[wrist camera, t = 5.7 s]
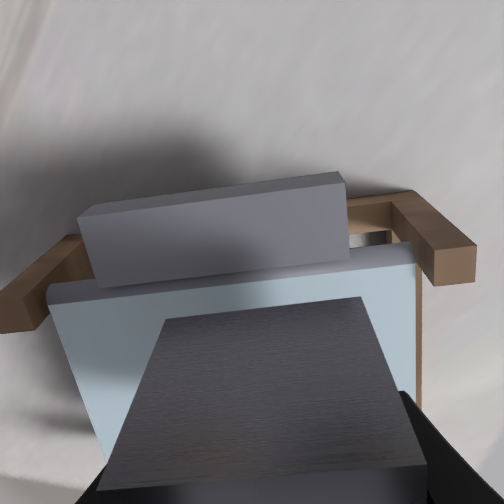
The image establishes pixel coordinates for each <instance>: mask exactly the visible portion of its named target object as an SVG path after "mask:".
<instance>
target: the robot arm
mask: <svg viewBox="0 0 504 504" xmlns="http://www.w3.org/2000/svg"><path fill="white" fill-rule="evenodd" d="M398 392H399V394H400V397H401V399H402V402H403V404H404V407H405V409H406V412H407V414H408V417H409V419H410V422H411V425H412V427H413V430H414V432H415V435H416V437H417V440H418V442H419V445H420V447H421V450H422V452H423V455H424V458H425V460H426V463H427V504H504V499H503V498H502V497H501V496H500V495H499V494H498V493H497V492H496V491H494V489H493V488H491V487H490V486H489V485H488V484H487V483H486V482H485V481H484V480H483V479H482V478H481V477H480V476H479V475H478V474H477V472H476V471H475V470H474V469H473V468H472V467H471V466H470V465H469V464H468V463H467V462H466V461H465V460H464V459H463V458H462V457H461V456H460V454H459V453H458V452H457V451H456V450H455V449H454V448H453V447H452V446H451V445H450V444H449V443H448V441H447V440H446V439H445V438H444V437H443V436H442V435H441V434H440V432H439V431H438V430H437V429H436V428H435V427H434V425H433V424H432V423H431V422H430V421H429V419H428V418H427V417H426V416H425V415H424V413H423V412H422V411H421V410H420V408H419V407H418V406H417V404H416V403H415V402H414V401H413V399H412V398H411V397H410V395H409V394H408V393H407V392H405V391H404V390H403V391H398ZM106 465H107V464H106ZM105 467H106V466H105ZM105 467H104V468H103V469H102V471H101V472H100V473H99V475H98V476H97V477H96V478H95V480H94V481H93V482H92V483H91V485H90V486H89V487H88V488H87V490H86V491H85V492H84V494H83V495H82V496H81V497H80V498H79V499H78V501H77V502H76V503H75V504H101V502H100V500H99V497H98V495H97V492H96V489H97V487H98V485H99V482H100V480H101V477H102V475H103V472H104V470H105Z"/></svg>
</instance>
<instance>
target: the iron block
mask: <svg viewBox="0 0 504 504" xmlns="http://www.w3.org/2000/svg"><path fill="white" fill-rule="evenodd" d="M96 492H97V495H98V497H99V500H100V502H101V504H427V463H426V460H425V458H424V455H423V452H422V450H421V447H420V445H419V442H418V440H417V437H416V435H415V432H414V430H413V427H412V425H411V422H410V419H409V417H408V414H407V412H406V409H405V407H404V404H403V402H402V399H401V397H400V394H399V392H398V389H397V386H396V384H395V381H394V379H393V376H392V374H391V371H390V369H389V366H388V364H387V361H386V359H385V356H384V353H383V351H382V348H381V346H380V343H379V341H378V338H377V336H376V333H375V331H374V328H373V326H372V323H371V320H370V318H369V315H368V313H367V310H366V308H365V305H364V303H363V300H362V298H361V296H358V297H350V298H341V299H332V300H324V301H315V302H307V303H298V304H289V305H281V306H272V307H264V308H255V309H246V310H238V311H229V312H221V313H212V314H203V315H195V316H186V317H178V318H169V319H165V322H164V324H163V327H162V329H161V332H160V334H159V337H158V339H157V342H156V344H155V347H154V349H153V351H152V354H151V356H150V359H149V361H148V364H147V366H146V369H145V371H144V374H143V376H142V379H141V381H140V383H139V386H138V388H137V391H136V393H135V396H134V398H133V401H132V403H131V406H130V408H129V411H128V413H127V416H126V418H125V420H124V423H123V425H122V428H121V430H120V433H119V435H118V438H117V440H116V443H115V445H114V448H113V450H112V453H111V455H110V457H109V460H108V462H107V465H106V467H105V470H104V472H103V475H102V477H101V480H100V482H99V485H98V487H97V489H96Z"/></svg>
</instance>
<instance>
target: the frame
mask: <svg viewBox="0 0 504 504" xmlns="http://www.w3.org/2000/svg"><path fill="white" fill-rule="evenodd" d="M346 202H347V218H348V233H349V235H350V234H358V233H366V232H374V231H383V230H386V241H387V244H390V243H399V242H407V241H409V242H411V244H412V246H413V249H414V254H415V293H416V404H417V406H418V407H419V408H420V410H421V384H422V271H423V272H424V274H425V275H426V276H427V278H428V279H429V280H430V282H431V283H432V285H433V286H434V287H435V286H444V285H453V284H462V283H471V282H475V272H476V254H477V245H476V244H475V243H474V242H473V241H471V240H470V239H469V238H468V237H467V236H466V235H465V234H463V233H462V232H461V231H460V230H459V229H458V228H457V227H455V226H454V225H453V224H452V223H451V222H450V221H449V220H447V219H446V218H445V217H444V216H443V215H442V214H441V213H439V212H438V211H437V210H436V209H435V208H434V207H433V206H432V205H430V204H429V203H428V202H427V201H426V200H425V199H424V198H422V197H421V196H420V195H419V194H418V193H417V192H416V191H407V192H399V193H391V194H384V195H376V196H368V197H360V198H353V199H346ZM88 279H95V275H94V272H93V269H92V266H91V263H90V260H89V257H88V253H87V250H86V247H85V244H84V241H83V238H82V234H74V235H66V236H65V237H64V238H63V239H61V240H60V241H59V242H58V243H57V244H56V245H54V246H53V247H52V248H51V249H50V250H49V251H47V252H46V253H45V254H44V255H43V256H41V257H40V258H39V259H38V260H37V261H36V262H34V263H33V264H32V265H31V266H30V267H29V268H27V269H26V270H25V271H24V272H23V273H21V274H20V275H19V276H18V277H17V278H16V279H14V280H13V281H12V282H11V283H10V284H8V285H7V286H6V287H5V288H4V289H3V290H1V291H0V334H6V333H15V332H24V331H33V330H36V328H37V327H38V326H39V325H40V324H41V323H42V322H43V321H44V319H45V318H46V317H47V316H48V315H49V314H50V311H49V308H48V306H47V302H46V292H47V289H48V287H49V285H51V284H55V283H63V282H72V281H80V280H88Z"/></svg>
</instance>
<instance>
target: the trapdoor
mask: <svg viewBox="0 0 504 504" xmlns="http://www.w3.org/2000/svg"><path fill="white" fill-rule="evenodd" d="M76 219H77V222H78V225H79V228H80V231H81V234H82V238H83V241H84V244H85V247H86V250H87V253H88V257H89V260H90V263H91V266H92V269H93V272H94V275H95V279H88V280H80V281H72V282H63V283H55V284H51V285H49V287H48V289H47V292H46V302H47V306H48V308H49V311H50V314H51V316H52V319H53V322H54V324H55V327H56V330H57V332H58V335H59V338H60V340H61V343H62V346H63V348H64V351H65V354H66V356H67V359H68V362H69V364H70V367H71V370H72V372H73V375H74V378H75V380H76V383H77V386H78V388H79V391H80V394H81V396H82V399H83V402H84V404H85V407H86V410H87V412H88V415H89V418H90V420H91V423H92V426H93V428H94V431H95V434H96V436H97V439H98V442H99V444H100V447H101V450H102V452H103V455H104V458H105V460H106V463H107V462H108V460H109V457H110V455H111V453H112V450H113V448H114V445H115V443H116V440H117V438H118V435H119V433H120V430H121V428H122V425H123V423H124V420H125V418H126V416H127V413H128V411H129V408H130V406H131V403H132V401H133V398H134V396H135V393H136V391H137V388H138V386H139V383H140V381H141V379H142V376H143V374H144V371H145V369H146V366H147V364H148V361H149V359H150V356H151V354H152V351H153V349H154V347H155V344H156V342H157V339H158V337H159V334H160V332H161V329H162V327H163V324H164V322H165V319H169V318H178V317H186V316H195V315H203V314H212V313H221V312H229V311H238V310H246V309H255V308H264V307H272V306H281V305H289V304H298V303H307V302H315V301H324V300H332V299H341V298H350V297H358V296H361V298H362V300H363V303H364V305H365V308H366V310H367V313H368V315H369V318H370V320H371V323H372V326H373V328H374V331H375V333H376V336H377V338H378V341H379V343H380V346H381V348H382V351H383V353H384V356H385V359H386V361H387V364H388V366H389V369H390V371H391V374H392V376H393V379H394V381H395V384H396V386H397V389H398V391H403V390H404V391H405V392H407V393H408V394H409V395H410V397H411V398H412V399H413V401H414V402H415V403H416V293H415V254H414V249H413V246H412V244H411V242H409V241H407V242H399V243H390V244H382V245H373V246H365V247H357V248H349V233H348V218H347V202H346V187H345V181H344V180H343V178H342V177H341V175H340V173H339V172H338V171H336V172H329V173H321V174H314V175H307V176H299V177H292V178H284V179H277V180H270V181H262V182H255V183H247V184H240V185H233V186H225V187H218V188H210V189H203V190H196V191H188V192H181V193H173V194H166V195H159V196H151V197H144V198H136V199H129V200H122V201H114V202H107V203H99V204H93V205H92V206H91V207H89V208H88V209H87V210H86V211H84V212H83V213H82V214H81V215H79V216H78V217H77V218H76Z"/></svg>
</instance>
